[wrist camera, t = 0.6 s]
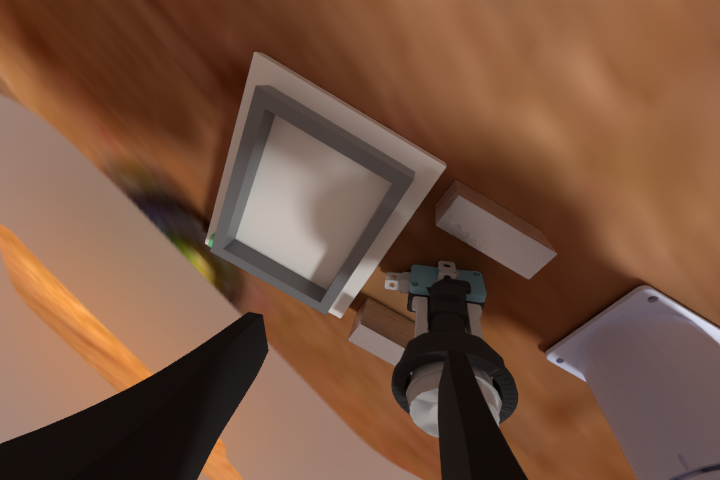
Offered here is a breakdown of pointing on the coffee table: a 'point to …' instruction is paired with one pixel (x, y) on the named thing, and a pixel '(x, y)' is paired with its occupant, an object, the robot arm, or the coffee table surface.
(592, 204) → the coffee table surface
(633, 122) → the coffee table surface
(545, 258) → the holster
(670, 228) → the coffee table surface
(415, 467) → the coffee table surface
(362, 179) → the port dock
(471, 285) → the push button
